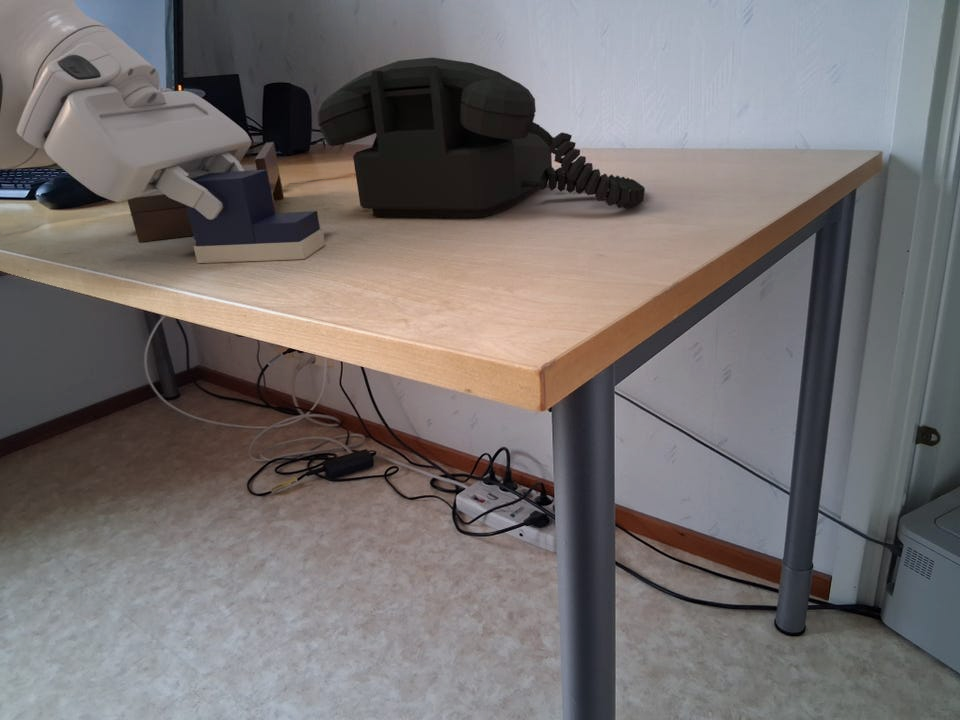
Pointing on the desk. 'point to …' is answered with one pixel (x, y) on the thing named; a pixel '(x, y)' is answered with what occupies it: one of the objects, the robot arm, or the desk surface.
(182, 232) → the shoe shelf
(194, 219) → the trainer
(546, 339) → the desk surface
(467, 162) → the rotary telephone
